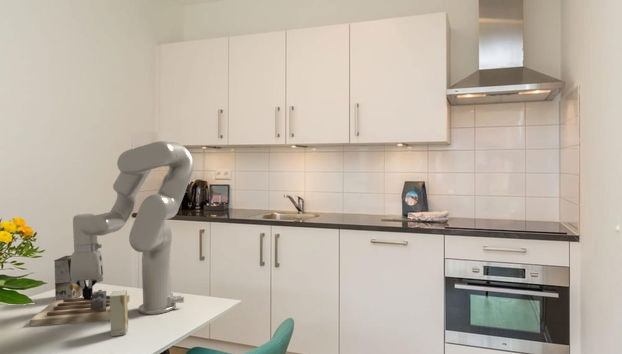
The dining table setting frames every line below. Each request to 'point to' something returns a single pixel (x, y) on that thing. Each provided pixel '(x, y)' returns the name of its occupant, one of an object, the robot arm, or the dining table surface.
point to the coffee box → (65, 280)
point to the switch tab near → (98, 303)
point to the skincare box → (118, 313)
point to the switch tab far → (99, 294)
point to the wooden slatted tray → (71, 312)
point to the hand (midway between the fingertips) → (87, 298)
